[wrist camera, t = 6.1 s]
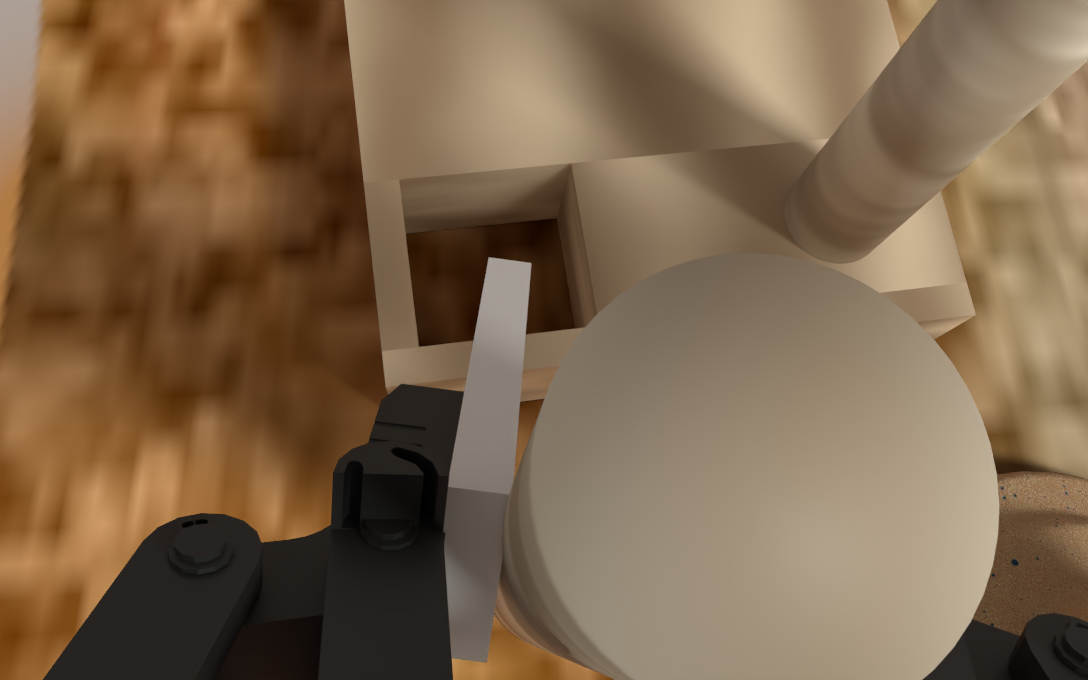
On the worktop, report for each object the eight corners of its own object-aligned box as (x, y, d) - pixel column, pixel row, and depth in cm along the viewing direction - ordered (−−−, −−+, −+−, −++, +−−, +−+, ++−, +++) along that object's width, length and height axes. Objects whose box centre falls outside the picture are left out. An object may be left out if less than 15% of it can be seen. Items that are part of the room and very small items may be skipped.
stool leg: (610, 494, 22) (931, 230, 7) (634, 636, 22) (1056, 686, 6) (474, 513, 22) (501, 279, 7) (493, 659, 21) (571, 770, 6)
